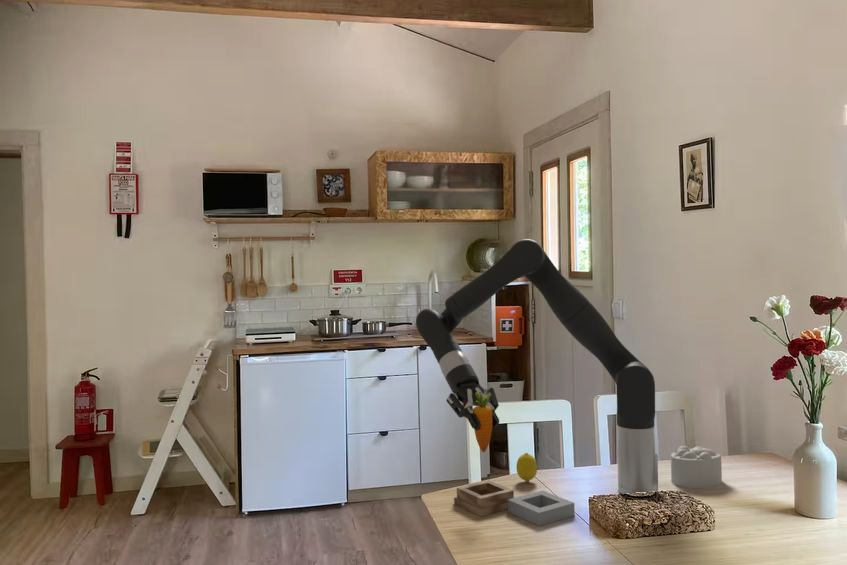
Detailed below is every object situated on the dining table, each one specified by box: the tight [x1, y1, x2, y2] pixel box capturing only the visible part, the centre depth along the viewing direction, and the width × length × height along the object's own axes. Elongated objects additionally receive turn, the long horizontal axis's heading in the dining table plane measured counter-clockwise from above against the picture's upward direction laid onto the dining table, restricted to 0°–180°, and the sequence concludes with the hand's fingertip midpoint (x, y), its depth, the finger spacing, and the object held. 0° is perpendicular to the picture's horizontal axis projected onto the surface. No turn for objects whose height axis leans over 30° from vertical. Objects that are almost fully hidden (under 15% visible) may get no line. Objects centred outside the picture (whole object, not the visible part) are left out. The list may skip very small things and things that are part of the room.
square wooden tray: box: [453, 479, 515, 517], centre depth 166 cm, size 11×11×4 cm
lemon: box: [515, 452, 538, 483], centre depth 183 cm, size 6×6×8 cm
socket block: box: [507, 490, 576, 527], centre depth 159 cm, size 11×11×3 cm
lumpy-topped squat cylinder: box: [670, 445, 723, 489], centre depth 180 cm, size 10×13×9 cm
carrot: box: [473, 392, 493, 453], centre depth 166 cm, size 5×5×15 cm
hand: (487, 426), depth 164 cm, fingers closed on carrot, 5 cm apart
